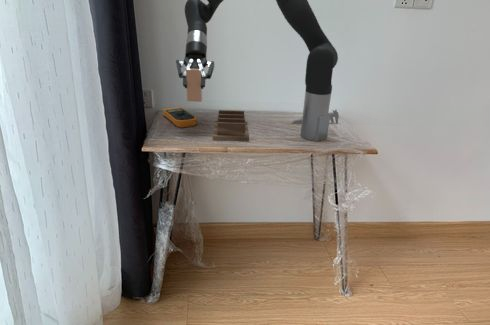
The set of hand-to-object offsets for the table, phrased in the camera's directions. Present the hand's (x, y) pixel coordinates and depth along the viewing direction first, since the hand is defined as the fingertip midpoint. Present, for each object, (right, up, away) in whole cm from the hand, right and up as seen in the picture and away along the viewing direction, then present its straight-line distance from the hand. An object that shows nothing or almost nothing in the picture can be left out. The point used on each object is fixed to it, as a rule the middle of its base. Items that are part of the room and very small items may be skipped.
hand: (193, 87), depth 125 cm
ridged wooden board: (+12, -14, +13) cm, 23 cm away
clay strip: (0, -4, +4) cm, 6 cm away
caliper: (+47, -10, +28) cm, 55 cm away
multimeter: (-9, -9, +23) cm, 26 cm away
